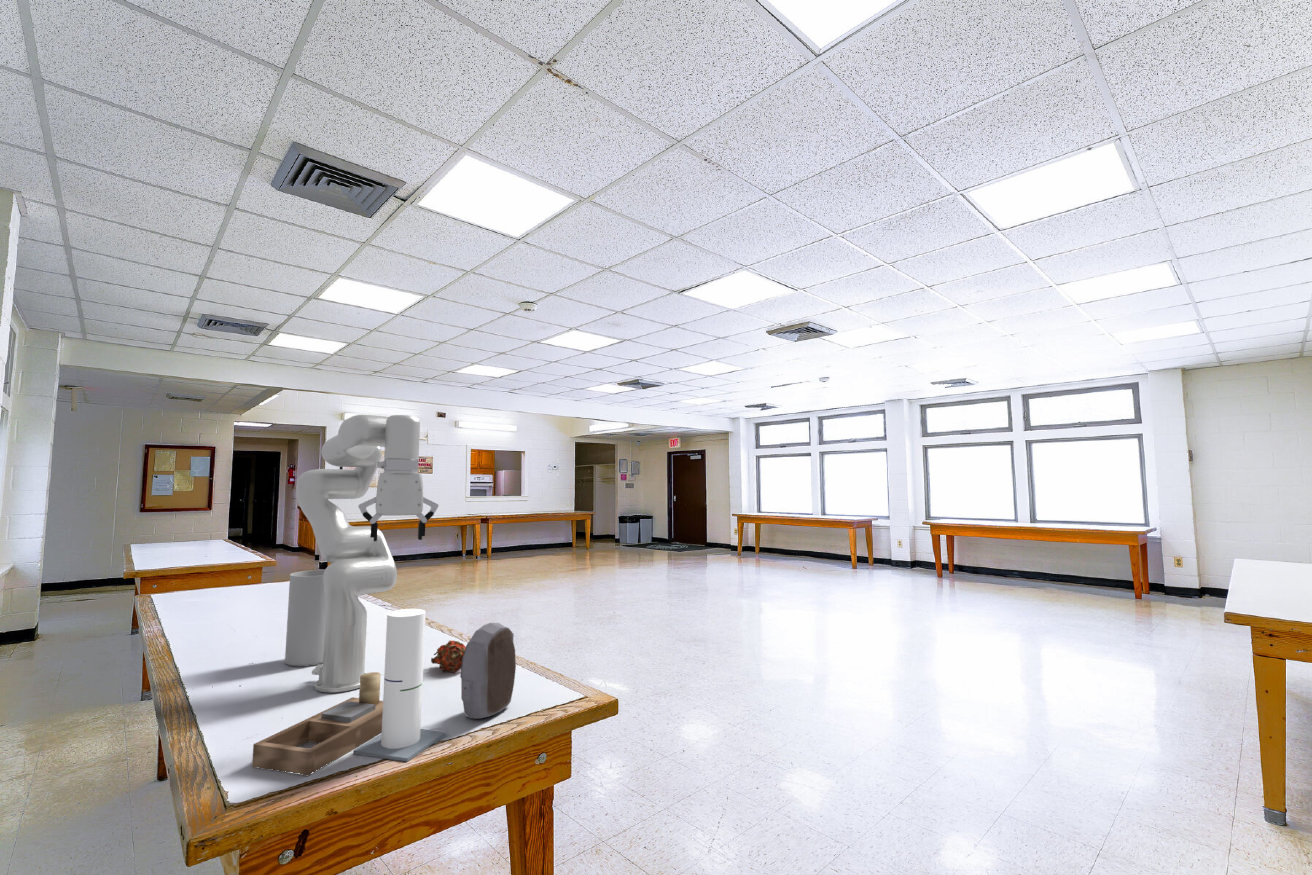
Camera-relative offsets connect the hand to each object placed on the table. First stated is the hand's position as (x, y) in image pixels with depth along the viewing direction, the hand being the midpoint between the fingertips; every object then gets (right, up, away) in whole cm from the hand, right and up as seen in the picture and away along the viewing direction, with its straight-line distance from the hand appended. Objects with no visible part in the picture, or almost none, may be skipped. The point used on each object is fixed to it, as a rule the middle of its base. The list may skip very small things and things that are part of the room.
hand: (397, 540), depth 137 cm
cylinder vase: (-39, -41, +31) cm, 65 cm away
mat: (+10, -37, -21) cm, 44 cm away
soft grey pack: (+22, -39, -4) cm, 45 cm away
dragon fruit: (+3, -41, +25) cm, 48 cm away
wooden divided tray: (-4, -37, -21) cm, 42 cm away
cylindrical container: (+10, -37, -21) cm, 43 cm away
